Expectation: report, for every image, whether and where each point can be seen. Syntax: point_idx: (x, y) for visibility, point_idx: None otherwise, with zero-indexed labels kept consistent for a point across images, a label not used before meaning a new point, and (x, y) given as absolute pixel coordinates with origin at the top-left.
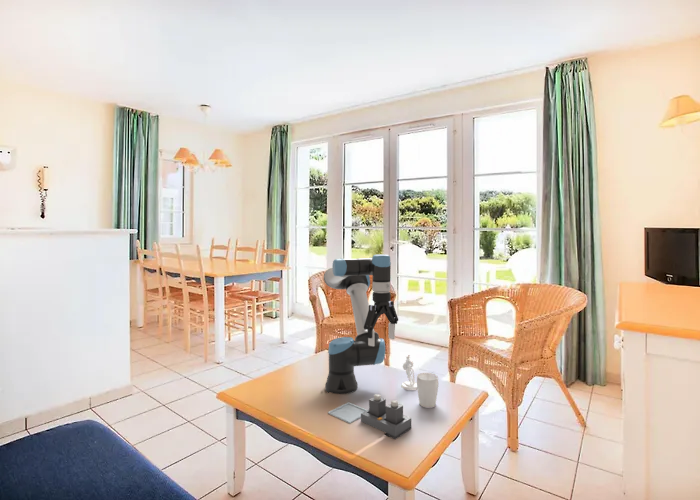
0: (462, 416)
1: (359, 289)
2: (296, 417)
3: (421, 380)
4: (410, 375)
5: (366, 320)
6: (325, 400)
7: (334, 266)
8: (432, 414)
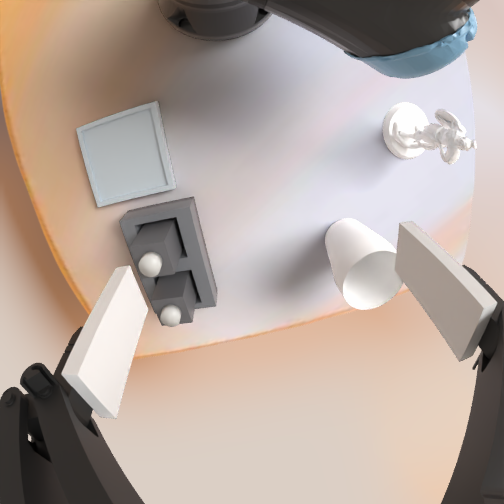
0: (343, 312)
1: None
2: (27, 99)
3: (341, 284)
4: (421, 146)
5: (5, 471)
6: (124, 36)
7: None
8: (307, 276)
